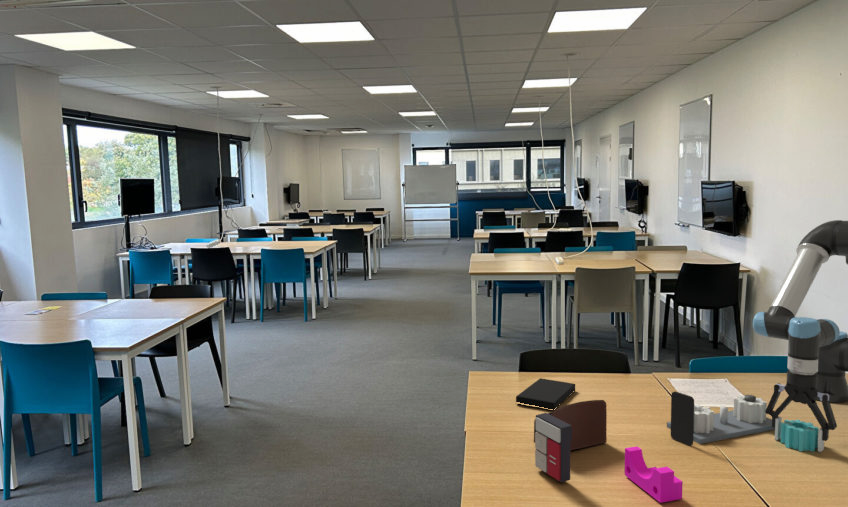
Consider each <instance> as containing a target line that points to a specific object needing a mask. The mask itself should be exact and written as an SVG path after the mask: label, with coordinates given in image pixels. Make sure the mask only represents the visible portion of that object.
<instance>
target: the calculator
mask: <svg viewBox="0 0 848 507" xmlns="http://www.w3.org/2000/svg"><path fill="white" fill-rule="evenodd" d="M548 413H549V412H548ZM548 413H547V412H544V413H540V414H539V413H538V414H536V415H535V419H536V432H535V443H534V447H535V450H534V452H535V453H534V458H535V459H534V461H535V462H534V463H535V464H534V465H535V467H536V468H537V469H539V470H541V471H542V472H544V473H546V474H547V475H548V476H550V477H552V478H554V479H555V480H557V481H558V482H559V483H564V482H567V481H570V480H571V451H570V443H571V440H572V426H571V425H570V424H568V423H566V422H564V421H562V420H560V419H558V418H556V417H554V416H552V415H550V414H548Z"/></svg>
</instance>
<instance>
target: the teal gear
mask: <svg viewBox="0 0 848 507" xmlns="http://www.w3.org/2000/svg"><path fill="white" fill-rule="evenodd" d="M819 429H820V427H818V426H815V425H814V423H812V422H806V421H801V420H800V419H795V420H792V419H791V420H789V419H784V422H782V421H781V438H780V444H784V445H785V448H788V449H793V450H798V452H803V451H805V452H806V451H810V452H815V451H816V449H818V437H819Z"/></svg>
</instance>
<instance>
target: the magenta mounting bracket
mask: <svg viewBox="0 0 848 507" xmlns="http://www.w3.org/2000/svg"><path fill="white" fill-rule="evenodd" d="M624 475H625V477H627V478H628V479H629V480H631V482H633V483H634V484H636V485H637V486H639V487H640V488H641V489H642V490H643V491H644V492H646V493H648V494H649V495H650V497H652V498H653V499H655V500H656V501H657V502H659V503H661V504H662V503H666V502H672V501H678V500H683V480H682V479H680V478H678V477H677V476H675V471H674V470H673V469H671V467H668V466H662V467H657V466H652V467H648V466H647V464H646V461H645V459H644V456H643V449H642V448H640V447H639V446H631V447H625V448H624Z"/></svg>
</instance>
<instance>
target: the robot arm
mask: <svg viewBox="0 0 848 507" xmlns="http://www.w3.org/2000/svg"><path fill="white" fill-rule="evenodd" d="M834 256H839V257H845V264H846V265H848V220H842V219H841V220H840V219H837V220H836V219H835V220H830V221H826V222H824V223H821V224H819V225H817V226H816V227H814V228H813V229H812V230H810V231H809V232H808V233H807V234H806V235H805V236H804V237H803V238H802V239H801V241H800V242H799V244H798V246H797V247H796V256H795V259H794V260H793V262H792V264H791V266H790V268H789V270H788V272H787V274H786V276H785V278H784V280H783V281H782V283H781V285H780V287H779V289H778V291H777V293H776V295H775V296H774V298H773V301H772V303H771V304H770V306H769V308H768V310H767V312H766V311H759V312H757V313H756V314H755V315H754V316H753V320H752V328H753V331H754V332H755V333H756V335H758V336H759V335H760V336H763V337H767V338H773V339H779V340H786V341H788V344H787V346H788V347H787V348H788V349H787V350H788V351H787V369H788V370H786V384H781V383H780V382H777V383H776V384H774V385H773V393H772V396H771V397H770V400H769V403H767V408H766V411H765V413H766V415H770V417H771V419H772V427H773V428H775V429H774V440H775V441H778V440H781V422H782V416H780V415H781V413H782V412H783V411H784V410H785V409H786V408H787V406H789V404H791V402H794V403H800V404H802V405H807V407H808V408H809V409H810V410H811V412H812V414H813V415H814V417H815V419H816V420H817V422H818V424H819V426H820V427H819V432H818V448H817V452H819V453H822V452H823V451H824V450H825V442H827V441H828V440H829V437H830V436H829V434H830V431H834V430H835V429H836V428H837V427H838V424H837V421H836V417H835V415H834V411H833V408H832V405H831V403H845V402H848V381H847V378H846V373H848V333H847V332H846V331H840V328H839V326H838V325H837V323H835V322H834V320H831V319H827V318H820V319H818V318H817V319H816V318H812V317H806V316H805V317H804V316H796V315H797V314H798V312H799V311H800V310H799V309H800V308H801V306H802V304H803V302H804V300H805V299H806V296H807V294H808V293H809V290H810V289H811V286H812V285H813V283H814V281H815V279H816V277H817V276H818V273H819V271H820V269H821V268H822V267H821V266H822V265H823V264H825V263H827V262H828V261H829V260H830V257H834ZM783 391H785V393H787V395H788V396H786V398H785V399H784V401H782V403H781V404H780V405H779V406H778V408H776V409H775V410H774V408H775V407H776V405H777V402H778V400H779V398H780V396H781V393H782V392H783ZM817 401H820V402H821V404H822V408H823V411H824V414H823V413H822V411H821V409H820V407H819V405H818V403H817ZM825 417H826V418H825Z"/></svg>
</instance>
